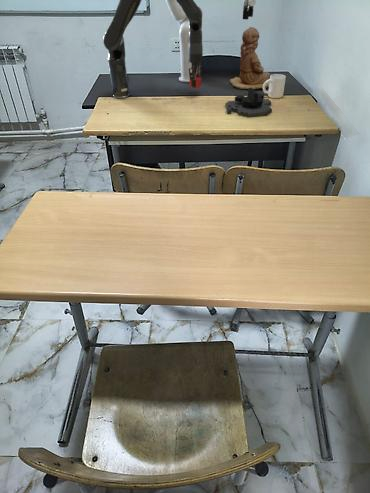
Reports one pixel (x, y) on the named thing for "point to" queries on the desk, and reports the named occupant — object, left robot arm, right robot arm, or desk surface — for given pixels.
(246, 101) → the abstract sculpture
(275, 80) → the mug
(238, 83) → the sculpture
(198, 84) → the brick
